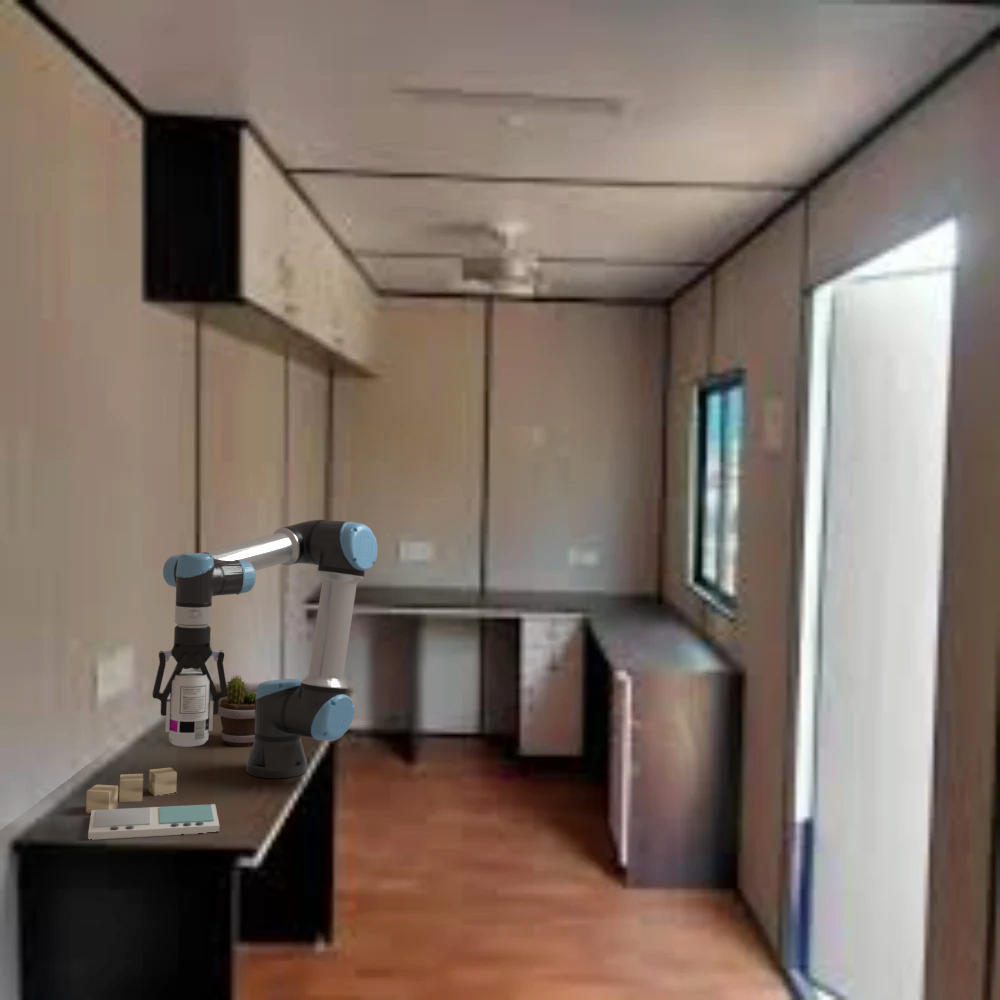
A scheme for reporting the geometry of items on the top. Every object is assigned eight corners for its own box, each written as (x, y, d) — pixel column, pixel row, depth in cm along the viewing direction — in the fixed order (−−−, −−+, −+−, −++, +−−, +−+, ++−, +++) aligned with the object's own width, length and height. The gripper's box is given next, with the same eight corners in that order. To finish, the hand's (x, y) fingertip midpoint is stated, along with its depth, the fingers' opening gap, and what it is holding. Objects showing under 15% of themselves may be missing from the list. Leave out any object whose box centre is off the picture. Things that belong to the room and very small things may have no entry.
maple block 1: (95, 806, 250) (96, 784, 250) (117, 808, 249) (118, 785, 249) (86, 813, 245) (86, 790, 245) (108, 814, 244) (109, 792, 244)
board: (91, 817, 242) (91, 808, 242) (214, 810, 250) (215, 802, 250) (88, 839, 228) (88, 831, 228) (219, 832, 236) (219, 824, 236)
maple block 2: (119, 796, 258) (120, 774, 258) (142, 795, 260) (143, 773, 259) (119, 802, 253) (119, 780, 253) (142, 801, 255) (143, 779, 255)
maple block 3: (148, 790, 263) (149, 769, 263) (170, 788, 266) (170, 767, 266) (154, 796, 259) (155, 775, 259) (176, 793, 262) (177, 772, 262)
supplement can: (160, 744, 239) (163, 674, 238) (182, 736, 246) (185, 668, 246) (194, 749, 236) (196, 678, 236) (215, 740, 244) (217, 672, 244)
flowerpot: (246, 733, 322) (249, 664, 321) (280, 743, 312) (283, 672, 311) (204, 741, 310) (206, 669, 310) (238, 752, 301) (241, 678, 300)
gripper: (141, 627, 234) (137, 735, 234) (244, 627, 240) (240, 732, 241) (141, 622, 241) (137, 727, 242) (241, 622, 247) (237, 724, 248)
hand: (188, 729), depth 241 cm, fingers closed on supplement can, 8 cm apart
